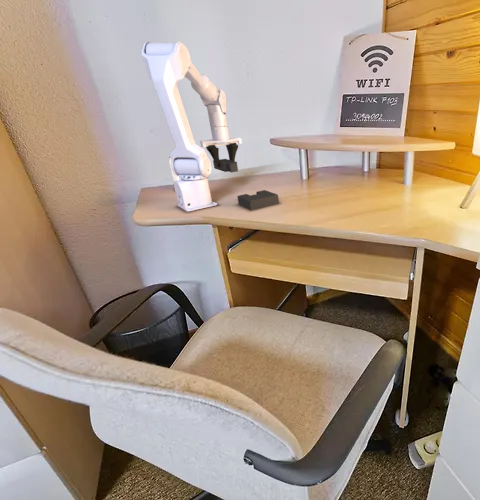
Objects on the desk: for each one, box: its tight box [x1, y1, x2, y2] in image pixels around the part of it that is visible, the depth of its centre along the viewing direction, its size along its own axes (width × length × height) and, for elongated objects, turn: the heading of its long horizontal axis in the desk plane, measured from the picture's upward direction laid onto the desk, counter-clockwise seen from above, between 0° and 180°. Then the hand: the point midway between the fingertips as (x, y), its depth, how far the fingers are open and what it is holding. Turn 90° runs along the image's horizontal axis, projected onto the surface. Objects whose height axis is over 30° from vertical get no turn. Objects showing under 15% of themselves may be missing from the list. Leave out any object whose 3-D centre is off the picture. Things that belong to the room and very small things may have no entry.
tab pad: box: [212, 158, 239, 173], centre depth 117 cm, size 5×11×3 cm, turn 45°
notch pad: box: [236, 189, 280, 211], centre depth 102 cm, size 10×8×3 cm
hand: (225, 165), depth 118 cm, fingers closed on tab pad, 5 cm apart
